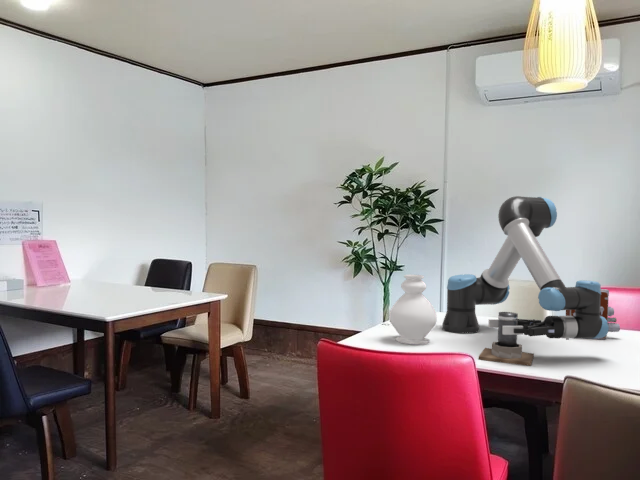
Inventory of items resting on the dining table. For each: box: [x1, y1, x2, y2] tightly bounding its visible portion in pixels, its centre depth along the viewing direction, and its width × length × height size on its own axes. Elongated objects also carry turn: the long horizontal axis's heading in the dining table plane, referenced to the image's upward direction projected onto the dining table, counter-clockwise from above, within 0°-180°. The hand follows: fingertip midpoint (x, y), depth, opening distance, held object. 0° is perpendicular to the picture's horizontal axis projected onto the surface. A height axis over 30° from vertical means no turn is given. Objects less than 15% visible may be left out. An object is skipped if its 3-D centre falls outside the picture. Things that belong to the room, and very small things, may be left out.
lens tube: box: [497, 311, 519, 347], centre depth 171 cm, size 6×6×14 cm
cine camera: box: [565, 288, 621, 340], centre depth 206 cm, size 9×19×20 cm, turn 78°
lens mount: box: [477, 341, 535, 367], centre depth 171 cm, size 16×14×4 cm
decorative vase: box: [388, 274, 438, 345], centre depth 194 cm, size 18×18×25 cm
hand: (495, 326), depth 170 cm, fingers open, 11 cm apart
